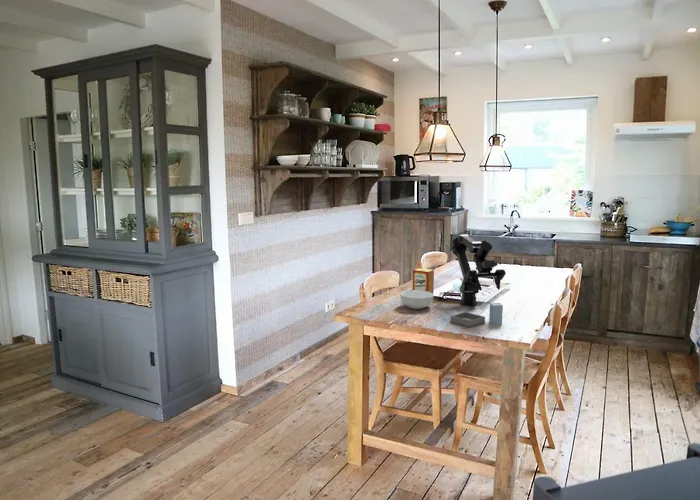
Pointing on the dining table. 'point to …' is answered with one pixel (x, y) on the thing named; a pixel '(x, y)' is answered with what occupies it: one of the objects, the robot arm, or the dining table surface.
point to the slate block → (495, 313)
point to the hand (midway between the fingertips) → (490, 289)
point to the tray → (467, 319)
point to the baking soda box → (423, 280)
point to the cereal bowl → (417, 298)
